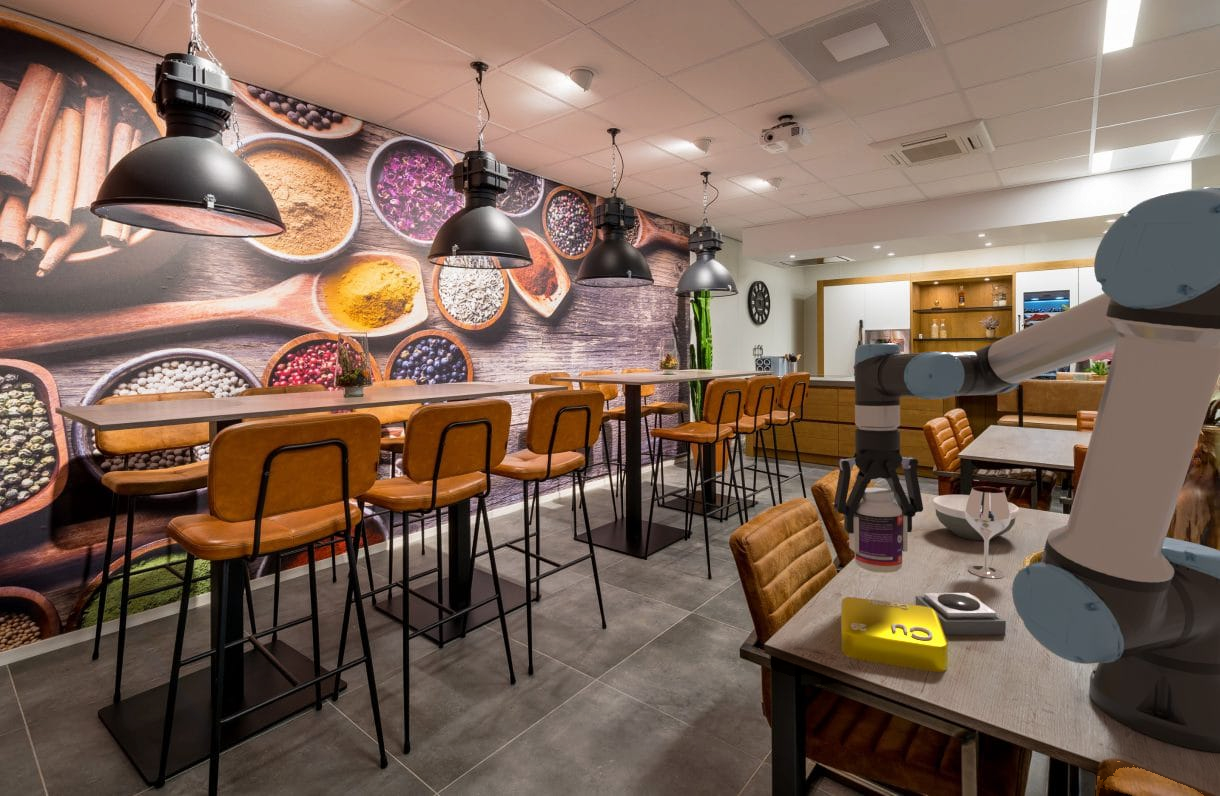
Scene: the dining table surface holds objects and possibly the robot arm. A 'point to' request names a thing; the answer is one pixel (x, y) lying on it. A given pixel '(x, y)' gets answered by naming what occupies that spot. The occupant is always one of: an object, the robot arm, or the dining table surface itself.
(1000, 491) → the wineglass
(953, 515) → the bowl
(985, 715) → the dining table surface
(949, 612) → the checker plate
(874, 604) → the element tile
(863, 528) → the pill bottle
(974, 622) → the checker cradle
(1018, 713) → the dining table surface
